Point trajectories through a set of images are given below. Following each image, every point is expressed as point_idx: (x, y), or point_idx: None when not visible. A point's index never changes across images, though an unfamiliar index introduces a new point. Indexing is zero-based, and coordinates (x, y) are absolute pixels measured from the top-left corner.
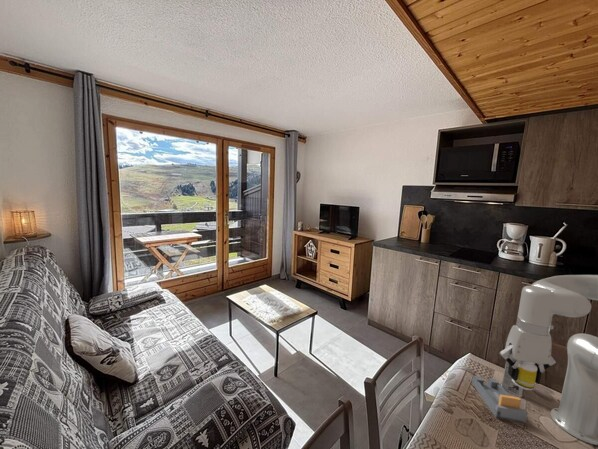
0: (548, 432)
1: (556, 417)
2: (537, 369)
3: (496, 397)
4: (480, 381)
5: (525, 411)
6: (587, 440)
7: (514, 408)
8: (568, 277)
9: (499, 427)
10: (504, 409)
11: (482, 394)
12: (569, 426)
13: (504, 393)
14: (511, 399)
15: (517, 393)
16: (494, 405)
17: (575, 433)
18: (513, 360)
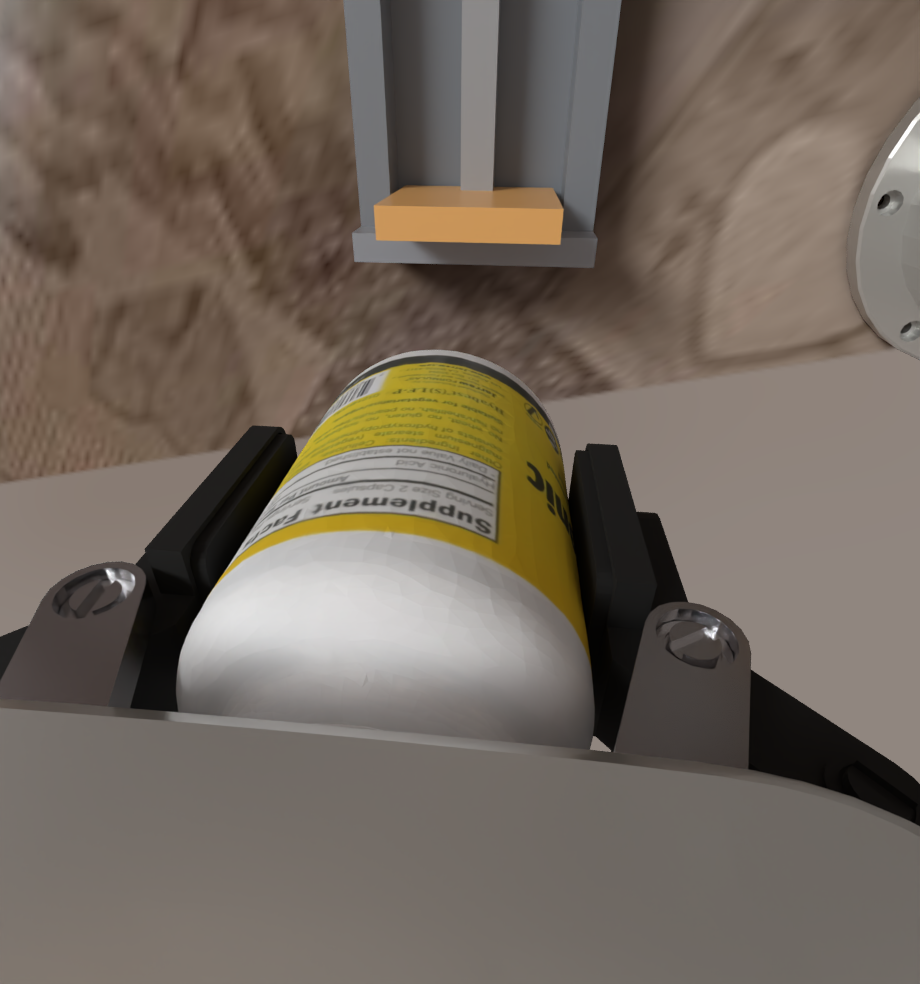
0: (693, 305)
1: (910, 165)
2: (594, 724)
3: (462, 24)
4: None
5: (581, 261)
6: (911, 354)
7: (499, 246)
8: None
9: (360, 327)
10: (412, 259)
11: None
12: (905, 268)
13: None
14: (469, 241)
15: None
16: (371, 185)
17: (881, 319)
18: (128, 670)
